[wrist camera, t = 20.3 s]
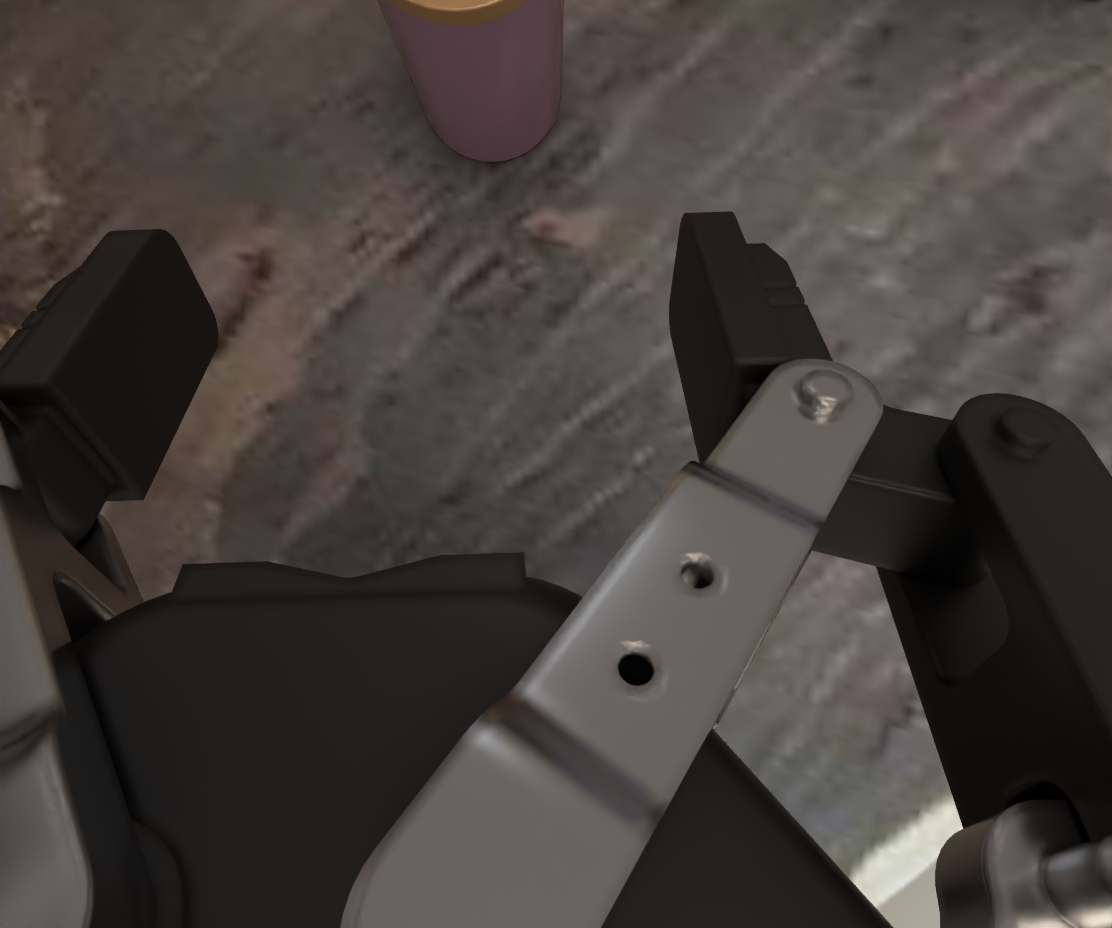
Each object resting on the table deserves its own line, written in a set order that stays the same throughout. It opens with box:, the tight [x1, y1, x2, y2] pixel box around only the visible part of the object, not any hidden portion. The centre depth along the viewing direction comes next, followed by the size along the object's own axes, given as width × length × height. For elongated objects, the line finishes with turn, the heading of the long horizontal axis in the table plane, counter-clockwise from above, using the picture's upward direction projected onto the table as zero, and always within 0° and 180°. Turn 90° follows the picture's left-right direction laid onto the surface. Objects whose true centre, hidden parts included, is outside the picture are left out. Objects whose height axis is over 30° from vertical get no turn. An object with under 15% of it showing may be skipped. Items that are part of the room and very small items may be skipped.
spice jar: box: [377, 0, 564, 162], centre depth 18 cm, size 5×5×9 cm
